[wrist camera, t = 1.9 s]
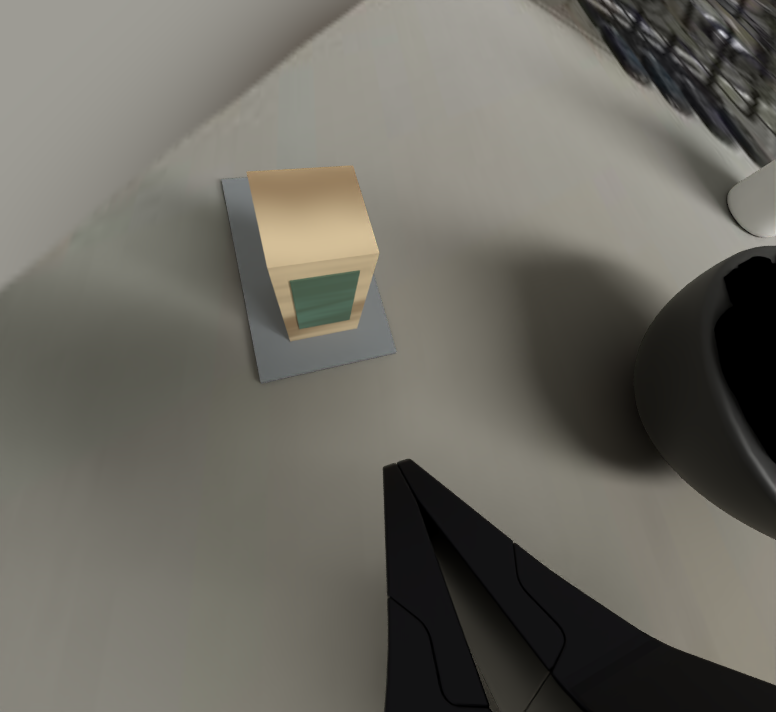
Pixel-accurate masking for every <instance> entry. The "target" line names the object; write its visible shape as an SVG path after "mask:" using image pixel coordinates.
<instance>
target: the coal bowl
mask: <svg viewBox="0 0 776 712" xmlns="http://www.w3.org/2000/svg"><path fill="white" fill-rule="evenodd" d="M634 394H635V400H636V405H637V409H638V412H639V415H640V418H641V420H642V423H643V425H644V427H645V429H646V431H647V433H648V435H649V437H650V439H651V440H652V442H653V444H654V445H655V447H656V448H657V450H658V451H659V452H660V454H661V455H662V456H663V458H664V459H665V460H666V461H667V463H668V464H669V465H670V466H671V467H672V468H673V469H674V470H675V471H676V472H677V473H678V474H679V476H680V477H681V478H682V479H684V480H685V481H686V482H687V483H688V484H689V485H690V486H691V487H693V488H694V489H695V490H696V491H697V492H698V493H700V494H701V495H702V496H703V497H705V498H706V499H707V500H709V501H710V502H711V503H713V504H714V505H716V506H717V507H719V508H720V509H722V510H723V511H725V512H726V513H728V514H729V515H731V516H732V517H734V518H736V519H737V520H739V521H741V522H743V523H744V524H746V525H748V526H750V527H751V528H753V529H755V530H757V531H759V532H761V533H763V534H765V535H767V536H769V537H771V538H773V539H775V540H776V246H762V247H755V248H752V249H748V250H745V251H741V252H739V253H737V254H735V255H733V256H731V257H729V258H727V259H725V260H723V261H722V262H720V263H718V264H716V265H715V266H713V267H712V268H710V269H709V270H707V271H705V272H704V273H703V274H701V275H700V276H698V277H697V278H696V279H694V280H693V281H692V282H690V283H689V284H688V285H686V286H685V287H684V288H683V289H682V290H681V291H680V292H679V293H677V294H676V295H675V296H674V297H673V298H672V299H671V300H670V301H669V302H668V303H667V304H666V306H665V307H664V308H663V309H662V310H661V311H660V313H659V314H658V315H657V316H656V318H655V319H654V321H653V322H652V324H651V325H650V327H649V329H648V330H647V332H646V334H645V336H644V338H643V340H642V343H641V345H640V348H639V351H638V355H637V358H636V363H635V368H634Z"/></svg>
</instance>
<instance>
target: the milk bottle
mask: <svg viewBox="0 0 776 712" xmlns="http://www.w3.org/2000/svg"><path fill="white" fill-rule="evenodd" d="M727 202H728V206H729V209H730V211H731V213H732V215H733V217H734V218H735V219H736V221H737V222H738V223H739V224H740V225H741V226H742V227H743V228H744V229H745V230H747V231H748V232H750V233H751V234H753V235H756V236H759V237H771V236H775V235H776V159H775V160H774V161H772V162H771V163H769V164H768V165H766V166H764V167H763V168H761V169H760V170H758V171H756V172H755V173H753V174H752V175H750V176H749V177H747V178H745V179H744V180H742V181H741V182H739V183H738V184H736V185H735V186H734V187H733V188H732V189H731V190H730V191H729V193H728V197H727Z"/></svg>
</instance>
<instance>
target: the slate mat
mask: <svg viewBox="0 0 776 712" xmlns="http://www.w3.org/2000/svg"><path fill="white" fill-rule="evenodd" d="M221 180H222V185H223V190H224V195H225V201H226V206H227V211H228V216H229V221H230V227H231V232H232V237H233V242H234V247H235V252H236V258H237V263H238V268H239V273H240V278H241V284H242V289H243V294H244V299H245V304H246V309H247V315H248V320H249V325H250V330H251V335H252V340H253V346H254V351H255V356H256V361H257V366H258V372H259V377H260V382H261V383H266V382H270V381H275V380H279V379H283V378H288V377H292V376H297V375H301V374H306V373H310V372H315V371H319V370H323V369H328V368H332V367H337V366H341V365H346V364H350V363H354V362H359V361H363V360H368V359H372V358H377V357H381V356H385V355H390V354H394V353H396V352H397V351H396V348H395V345H394V341H393V338H392V334H391V331H390V328H389V324H388V321H387V317H386V314H385V311H384V307H383V304H382V300H381V297H380V294H379V290H378V287H377V283H376V280H375V277H374V273H373V276H372V280H371V283H370V286H369V290H368V293H367V296H366V300H365V303H364V307H363V310H362V313H361V317H360V320H359V323H358V327H357V328H356V329H351V330H346V331H341V332H336V333H331V334H326V335H321V336H315V337H310V338H305V339H300V340H295V341H290V339H289V336H288V333H287V330H286V326H285V323H284V320H283V317H282V314H281V310H280V307H279V304H278V301H277V298H276V294H275V291H274V288H273V285H272V282H271V278H270V275H269V272H268V269H267V264H266V260H265V255H264V250H263V246H262V241H261V237H260V232H259V227H258V223H257V218H256V213H255V209H254V204H253V199H252V195H251V190H250V185H249V181H248V177H247V178H231V179H221Z"/></svg>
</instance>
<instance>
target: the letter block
mask: <svg viewBox="0 0 776 712" xmlns="http://www.w3.org/2000/svg"><path fill="white" fill-rule="evenodd" d="M247 176H248V181H249V185H250V190H251V195H252V199H253V204H254V209H255V213H256V218H257V223H258V227H259V232H260V237H261V241H262V246H263V250H264V255H265V260H266V264H267V269H268V272H269V275H270V278H271V282H272V285H273V288H274V291H275V294H276V298H277V301H278V304H279V307H280V310H281V314H282V317H283V320H284V323H285V326H286V330H287V333H288V336H289V339H290V341H295V340H300V339H305V338H310V337H315V336H321V335H326V334H331V333H336V332H341V331H346V330H351V329H356V328H357V327H358V323H359V320H360V317H361V313H362V310H363V307H364V303H365V300H366V296H367V293H368V290H369V286H370V283H371V280H372V276H373V273H374V270H375V266H376V263H377V260H378V256H379V250H378V247H377V243H376V240H375V237H374V233H373V230H372V227H371V224H370V220H369V217H368V214H367V210H366V207H365V204H364V200H363V197H362V194H361V191H360V187H359V184H358V181H357V177H356V174H355V171H354V167H353V166H336V167H319V168H302V169H284V170H267V171H250V172H247Z"/></svg>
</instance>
